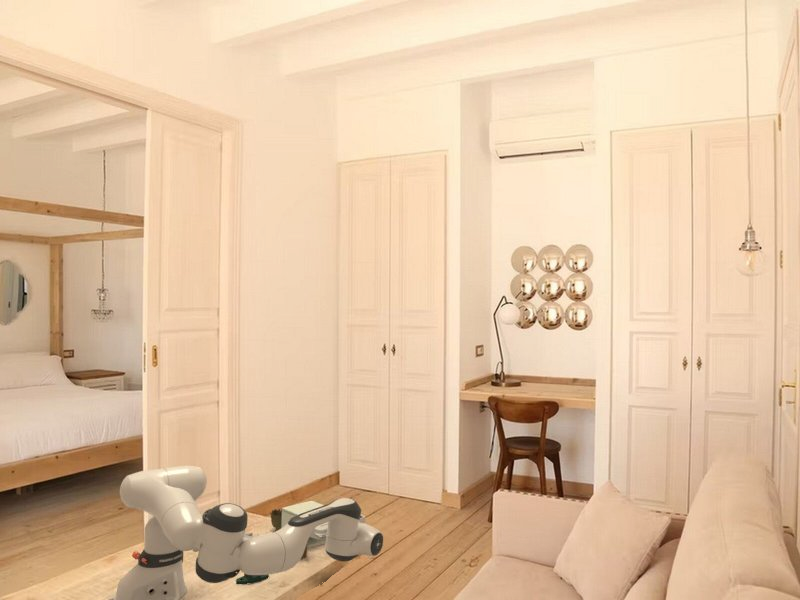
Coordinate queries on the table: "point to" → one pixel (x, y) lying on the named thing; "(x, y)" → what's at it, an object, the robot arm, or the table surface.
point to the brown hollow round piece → (276, 519)
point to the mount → (251, 578)
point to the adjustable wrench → (246, 535)
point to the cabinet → (298, 509)
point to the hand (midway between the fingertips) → (320, 519)
